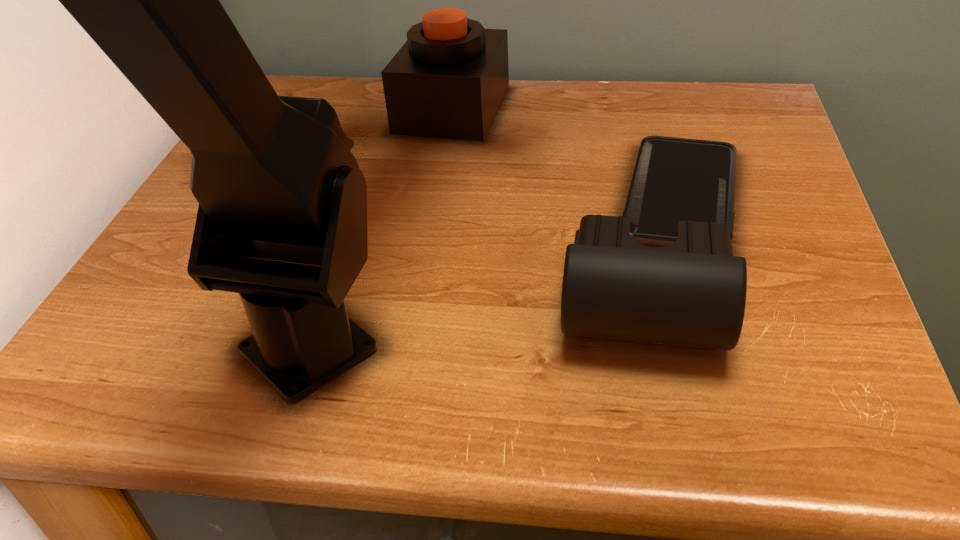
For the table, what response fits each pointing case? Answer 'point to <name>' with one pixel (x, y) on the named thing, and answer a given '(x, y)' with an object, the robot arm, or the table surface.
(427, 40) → the push button base
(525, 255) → the table surface
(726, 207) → the phone
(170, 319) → the table surface
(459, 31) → the orange push button
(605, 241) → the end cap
